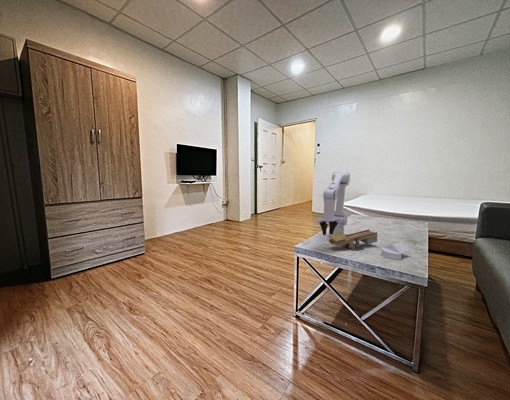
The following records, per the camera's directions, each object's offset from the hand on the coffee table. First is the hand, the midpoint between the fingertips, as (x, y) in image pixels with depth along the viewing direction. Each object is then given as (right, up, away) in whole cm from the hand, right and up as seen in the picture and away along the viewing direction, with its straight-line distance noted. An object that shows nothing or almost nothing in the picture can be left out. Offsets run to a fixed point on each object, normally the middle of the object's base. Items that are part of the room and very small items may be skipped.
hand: (327, 234), depth 119 cm
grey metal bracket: (+17, -9, +6) cm, 20 cm away
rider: (+8, -4, +3) cm, 9 cm away
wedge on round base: (+34, -11, -5) cm, 36 cm away
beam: (+18, -8, +7) cm, 20 cm away
